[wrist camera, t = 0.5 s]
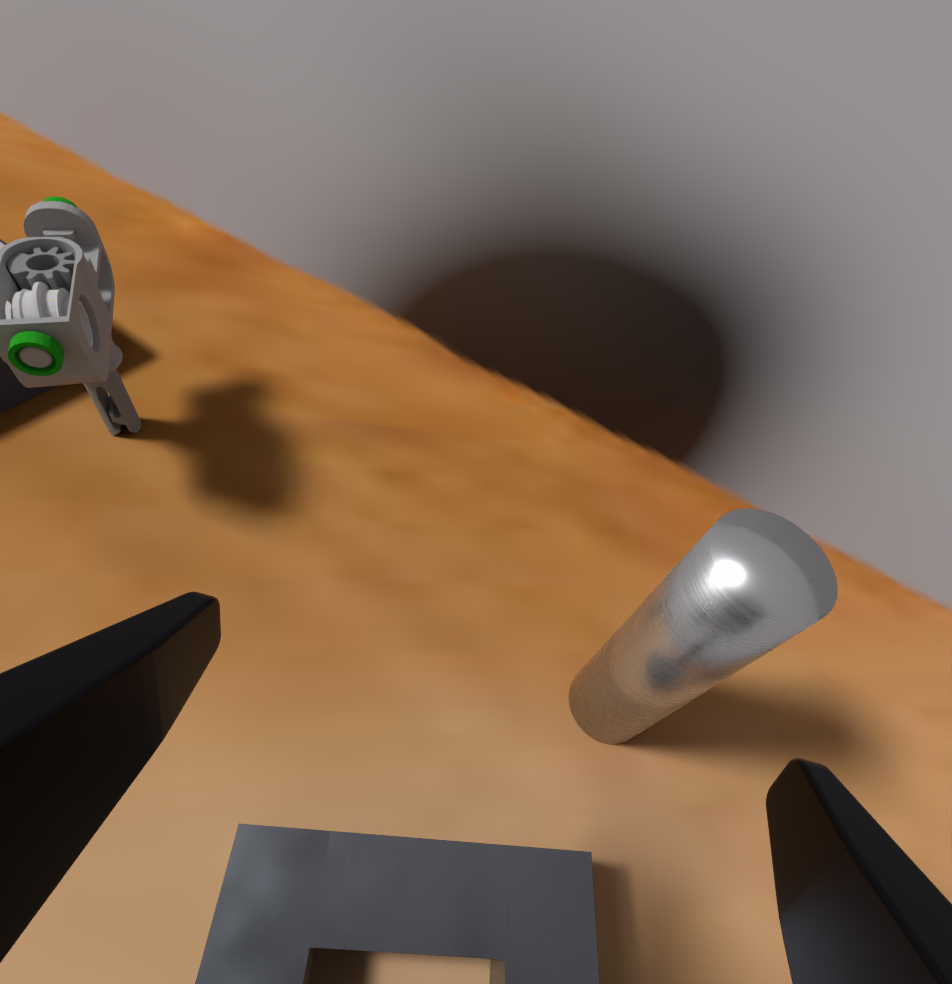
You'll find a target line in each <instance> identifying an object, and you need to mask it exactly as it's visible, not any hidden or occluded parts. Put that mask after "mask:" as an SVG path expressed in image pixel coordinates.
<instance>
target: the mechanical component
mask: <svg viewBox="0 0 952 984" xmlns="http://www.w3.org/2000/svg"><path fill="white" fill-rule="evenodd" d="M24 230H25V233H26V235H27V237H26V238H22V239H19V240H15V241H13V242H11V243H8V244H7V245H5V246H3V247H2V248H1V249H0V357H1V358H2V360H3V361H4V362H6V363H7V364H8V365H9V367H10V368H11V370H12V371H13V373H14V374H15V376H16V377H17V379H18V380H19V381H20V383H21V384H22V385H24V386H25V387H27V388H33V387H45V386H57V385H68V384H80V383H83V384H84V386H85V387H86V389H87V391H88V393H89V395H90V397H91V398H92V400H93V402H94V404H95V406H96V408H97V410H98V411H99V413H100V415H101V417H102V419H103V421H104V422H105V424H106V426H107V428H108V430H109V432H110V433H111V434H112V435H113V436H114V435H116V434H118V433H119V432H120V430H121V424H123V425H126V426H127V428H128V430H129V431H130V432H134V433H137V432H138V431H139V430H140V429H141V426H142V424H141V421H140V419H139V417H138V414H137V412H136V410H135V408H134V406H133V404H132V402H131V399H130V397H129V395H128V393H127V391H126V389H125V387H124V384H123V382H122V380H121V378H120V376H119V374H118V372H117V368H118V367H119V365H120V364H121V362H122V358H123V355H122V352H121V350H120V348H119V347H118V346H117V345H115V344H114V342H113V340H112V337H111V332H112V318H113V305H114V291H115V287H114V278H113V273H112V269H111V265H110V262H109V259H108V256H107V254H106V251H105V249H104V246H103V244H102V241H101V239H100V236H99V233H98V231H97V228H96V226H95V224H94V222H93V221H92V220H91V218H90V217H89V216H88V215H87V214H86V213H84V212H83V211H82V210H80V209H79V208H78V207H77V206H76V205H75V204H74V203H72V202H70V201H69V200H67V199H64V198H61V197H49V198H46V199H45V200H44V201H43V202H39V203H36V204H34V205H32V206H31V207H30V208H29V209H28V211H27V213H26V216H25V220H24ZM7 301H8V302H10V304H11V319H6V314H5V305H6V302H7ZM106 391H107V392H108V393H109V394H110V398H109V396H108V394H107V392H106Z"/></svg>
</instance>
